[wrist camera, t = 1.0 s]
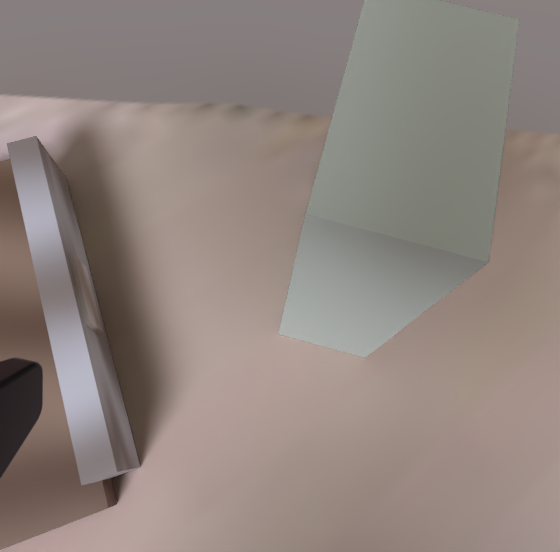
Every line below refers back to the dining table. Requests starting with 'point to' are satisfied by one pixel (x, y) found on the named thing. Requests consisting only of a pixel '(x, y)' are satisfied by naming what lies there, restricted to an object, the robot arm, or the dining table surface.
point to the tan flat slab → (55, 355)
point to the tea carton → (403, 173)
